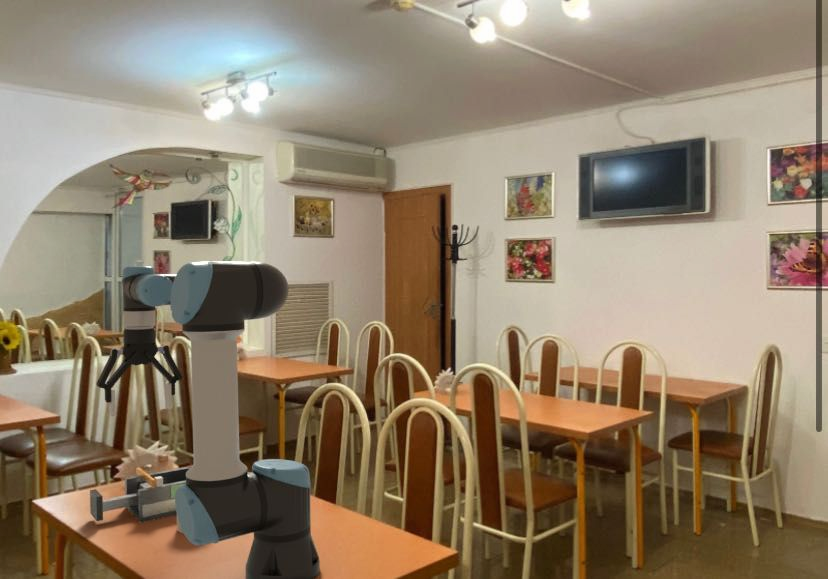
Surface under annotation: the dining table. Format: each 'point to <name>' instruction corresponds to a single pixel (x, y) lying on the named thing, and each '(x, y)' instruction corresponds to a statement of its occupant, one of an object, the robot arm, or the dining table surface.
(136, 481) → the gauge housing
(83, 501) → the dining table surface
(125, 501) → the grey t-handle block
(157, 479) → the marker
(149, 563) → the dining table surface
